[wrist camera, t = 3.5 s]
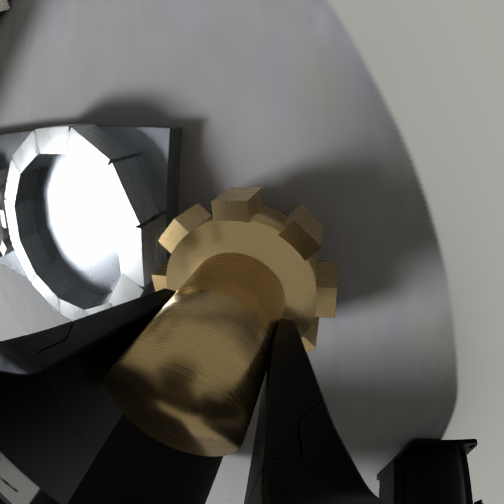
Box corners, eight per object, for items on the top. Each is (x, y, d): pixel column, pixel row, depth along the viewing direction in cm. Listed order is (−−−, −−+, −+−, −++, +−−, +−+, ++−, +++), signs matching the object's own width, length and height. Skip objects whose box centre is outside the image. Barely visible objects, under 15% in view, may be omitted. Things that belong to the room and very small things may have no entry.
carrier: (181, 122, 12) (149, 124, 9) (178, 325, 16) (156, 354, 14) (-19, 134, 15) (-44, 141, 13) (-5, 253, 19) (-24, 265, 17)
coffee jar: (107, 406, 23) (14, 545, 7) (106, 335, 18) (-49, 531, 2) (212, 459, 22) (143, 616, 7) (253, 408, 17) (155, 656, 2)
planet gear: (340, 188, 10) (352, 307, 3) (330, 341, 12) (310, 496, 6) (166, 189, 11) (18, 269, 5) (189, 326, 14) (109, 444, 8)
